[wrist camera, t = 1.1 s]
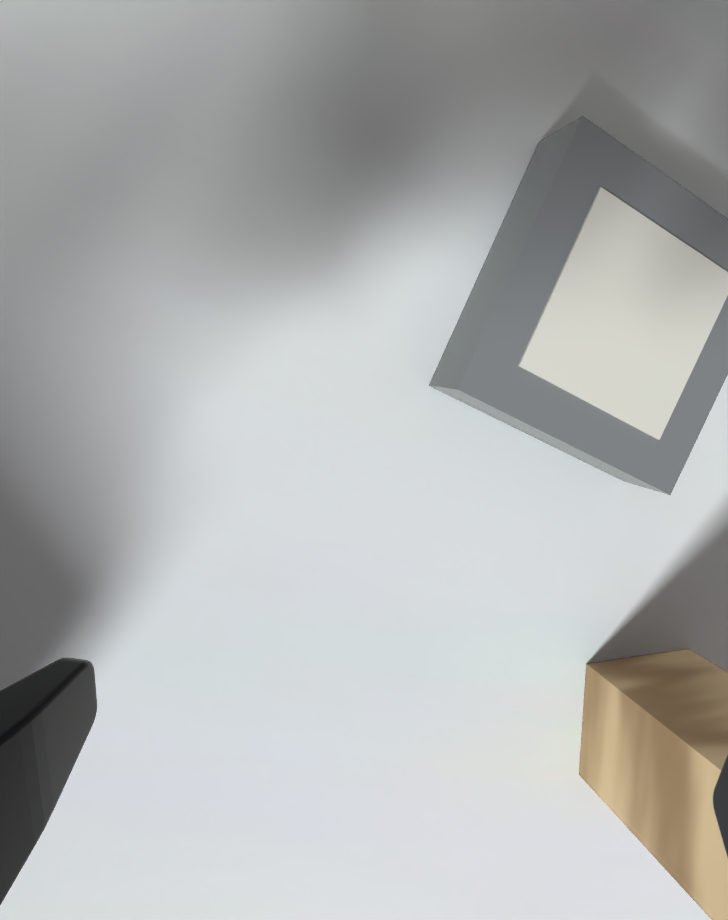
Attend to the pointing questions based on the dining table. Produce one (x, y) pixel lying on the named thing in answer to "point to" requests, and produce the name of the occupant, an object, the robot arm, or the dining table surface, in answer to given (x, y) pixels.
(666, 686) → the oak post
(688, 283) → the base tile
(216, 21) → the dining table surface
